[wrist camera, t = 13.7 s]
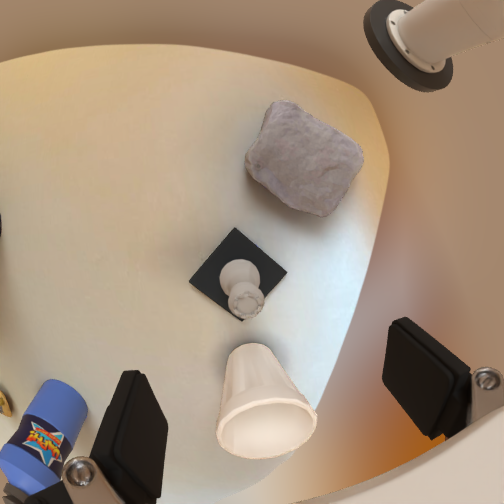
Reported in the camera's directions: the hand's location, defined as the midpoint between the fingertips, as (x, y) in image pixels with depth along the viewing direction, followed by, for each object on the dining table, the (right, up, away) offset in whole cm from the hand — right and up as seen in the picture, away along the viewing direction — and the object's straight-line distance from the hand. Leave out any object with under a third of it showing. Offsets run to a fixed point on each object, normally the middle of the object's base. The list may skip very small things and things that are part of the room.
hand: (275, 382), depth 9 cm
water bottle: (-32, -20, +24) cm, 45 cm away
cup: (-1, -10, +26) cm, 28 cm away
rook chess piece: (-2, +2, +22) cm, 23 cm away
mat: (-2, +2, +23) cm, 23 cm away
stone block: (+4, +15, +21) cm, 26 cm away
